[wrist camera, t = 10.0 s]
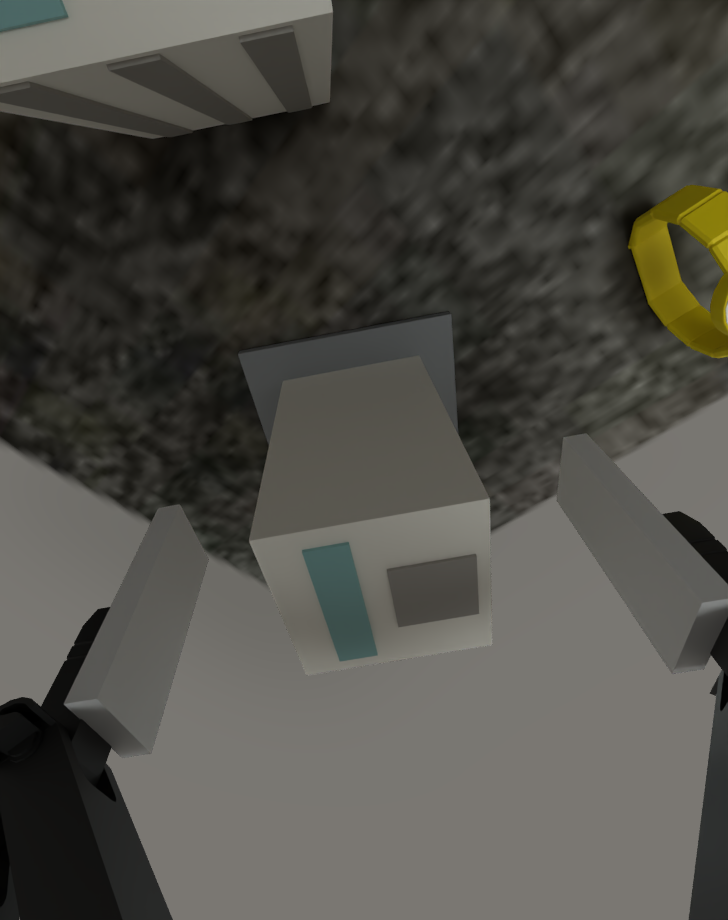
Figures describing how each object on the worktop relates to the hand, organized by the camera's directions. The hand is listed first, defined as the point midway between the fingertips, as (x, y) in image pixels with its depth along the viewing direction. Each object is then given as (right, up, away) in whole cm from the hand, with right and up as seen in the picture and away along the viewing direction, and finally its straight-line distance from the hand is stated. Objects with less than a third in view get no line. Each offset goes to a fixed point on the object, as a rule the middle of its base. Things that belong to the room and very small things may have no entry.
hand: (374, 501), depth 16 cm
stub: (0, +3, +5) cm, 6 cm away
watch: (+12, +10, +3) cm, 15 cm away
